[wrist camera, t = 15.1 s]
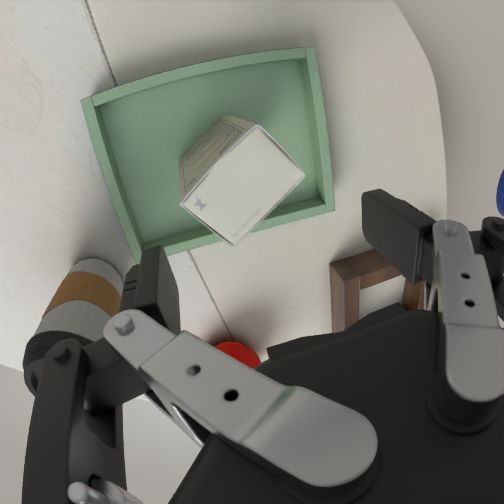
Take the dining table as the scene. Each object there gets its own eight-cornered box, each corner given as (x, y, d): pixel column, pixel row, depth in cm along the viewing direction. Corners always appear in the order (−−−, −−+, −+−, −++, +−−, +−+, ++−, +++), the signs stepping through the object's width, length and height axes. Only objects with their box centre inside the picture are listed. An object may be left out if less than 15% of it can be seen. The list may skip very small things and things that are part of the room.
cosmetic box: (211, 190, 29) (232, 253, 19) (175, 159, 27) (174, 207, 17) (259, 142, 28) (310, 178, 18) (225, 108, 26) (258, 121, 16)
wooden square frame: (420, 234, 39) (438, 248, 35) (410, 311, 46) (423, 326, 43) (329, 263, 38) (343, 281, 34) (332, 342, 45) (343, 361, 41)
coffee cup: (97, 322, 34) (78, 429, 22) (47, 275, 30) (1, 377, 17) (147, 287, 34) (142, 400, 21) (96, 232, 29) (53, 334, 17)
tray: (303, 49, 25) (315, 46, 23) (324, 201, 33) (335, 210, 31) (89, 98, 23) (80, 100, 21) (138, 251, 31) (136, 265, 29)
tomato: (250, 377, 44) (262, 418, 38) (189, 376, 42) (194, 420, 35) (266, 330, 40) (282, 374, 34) (196, 328, 38) (203, 374, 31)
